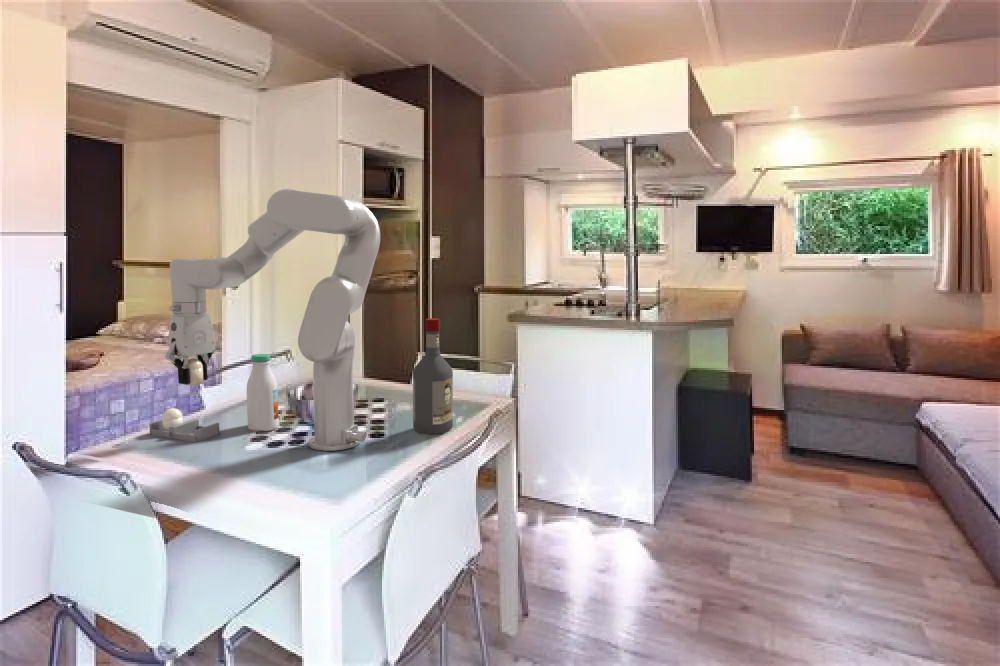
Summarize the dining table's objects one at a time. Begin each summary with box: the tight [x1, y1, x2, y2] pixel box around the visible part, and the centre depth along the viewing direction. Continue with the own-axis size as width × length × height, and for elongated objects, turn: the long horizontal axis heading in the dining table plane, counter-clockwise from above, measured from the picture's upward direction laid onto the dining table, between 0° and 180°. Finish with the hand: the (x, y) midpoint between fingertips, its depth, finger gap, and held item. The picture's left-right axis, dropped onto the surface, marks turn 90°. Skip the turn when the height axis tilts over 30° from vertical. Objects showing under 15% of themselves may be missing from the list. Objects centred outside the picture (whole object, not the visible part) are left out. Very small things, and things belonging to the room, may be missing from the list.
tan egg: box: [182, 357, 205, 386], centre depth 152 cm, size 5×5×6 cm
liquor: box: [412, 317, 454, 436], centre depth 162 cm, size 9×9×30 cm
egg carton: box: [148, 418, 220, 443], centre depth 155 cm, size 15×7×4 cm, turn 69°
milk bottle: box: [246, 353, 280, 432], centre depth 162 cm, size 8×8×20 cm
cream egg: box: [161, 407, 184, 432], centre depth 156 cm, size 5×5×6 cm
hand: (193, 380), depth 152 cm, fingers closed on tan egg, 4 cm apart
